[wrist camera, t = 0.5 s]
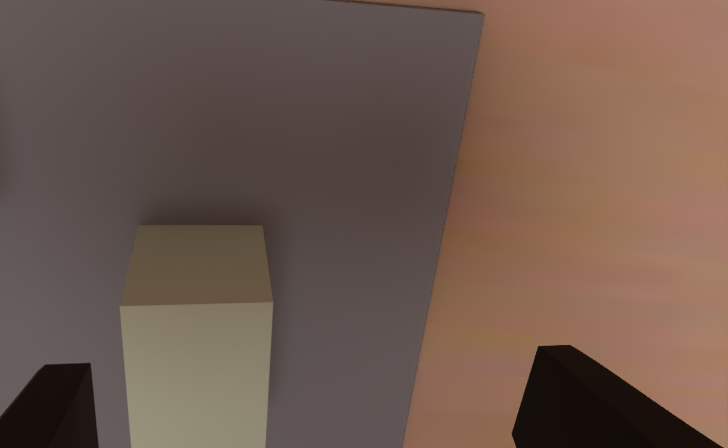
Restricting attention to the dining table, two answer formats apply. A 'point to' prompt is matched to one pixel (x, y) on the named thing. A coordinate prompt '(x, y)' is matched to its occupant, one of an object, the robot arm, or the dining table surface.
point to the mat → (234, 185)
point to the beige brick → (197, 336)
